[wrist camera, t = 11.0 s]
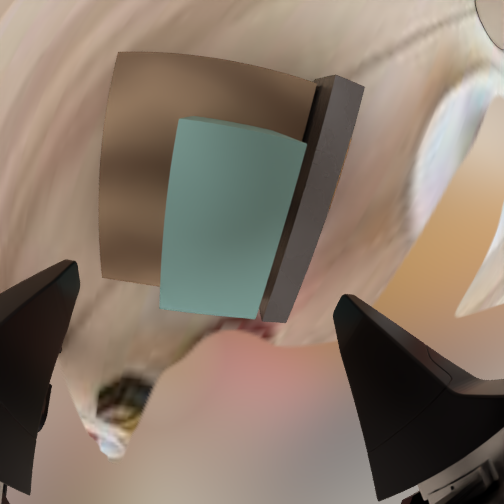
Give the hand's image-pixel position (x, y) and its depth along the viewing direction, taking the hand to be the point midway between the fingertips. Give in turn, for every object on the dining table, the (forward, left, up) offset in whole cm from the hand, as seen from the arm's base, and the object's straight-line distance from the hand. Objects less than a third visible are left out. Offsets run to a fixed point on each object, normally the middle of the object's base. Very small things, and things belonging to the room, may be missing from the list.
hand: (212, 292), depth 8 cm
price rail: (0, -6, -12) cm, 13 cm away
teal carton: (0, 0, -11) cm, 11 cm away
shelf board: (0, +1, -12) cm, 12 cm away
